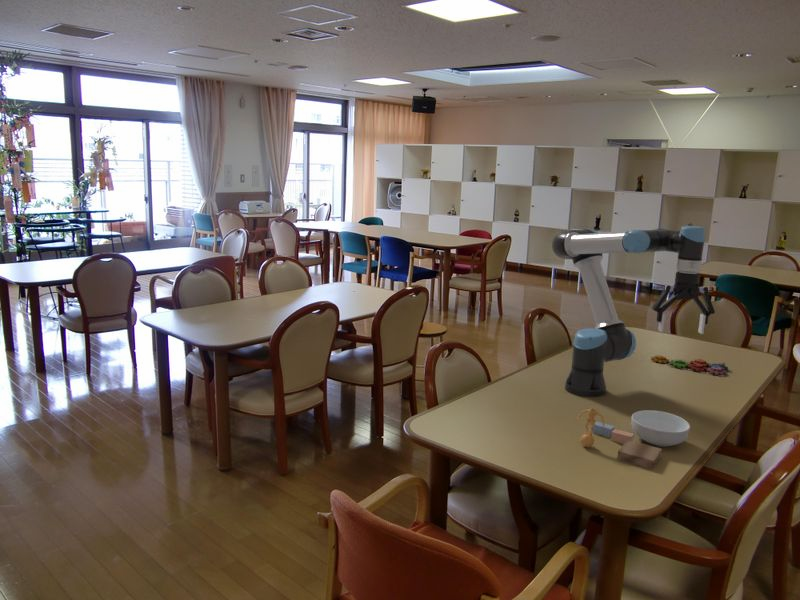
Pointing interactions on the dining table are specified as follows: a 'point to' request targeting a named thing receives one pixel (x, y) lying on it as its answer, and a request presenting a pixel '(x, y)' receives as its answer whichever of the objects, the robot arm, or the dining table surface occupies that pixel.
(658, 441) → the cereal bowl
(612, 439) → the terracotta brick
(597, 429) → the slate-blue brick
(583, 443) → the figurine
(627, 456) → the walnut plinth
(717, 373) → the gear puzzle
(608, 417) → the dining table surface
